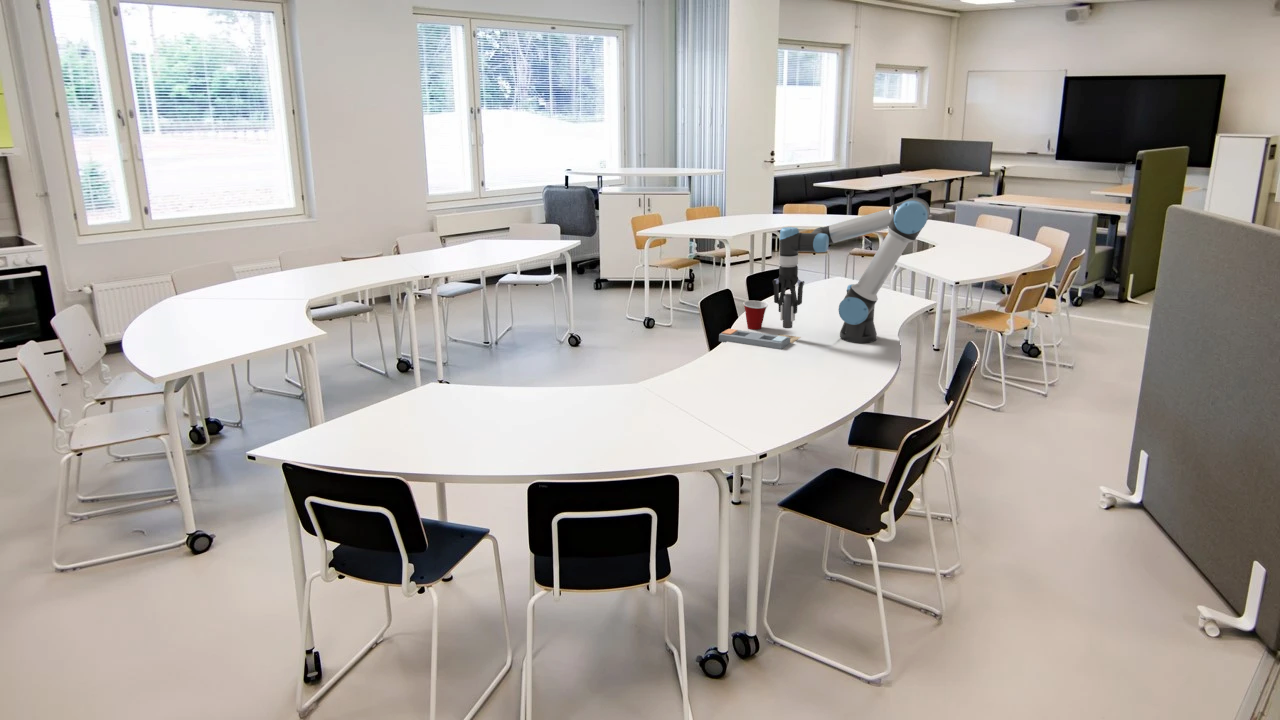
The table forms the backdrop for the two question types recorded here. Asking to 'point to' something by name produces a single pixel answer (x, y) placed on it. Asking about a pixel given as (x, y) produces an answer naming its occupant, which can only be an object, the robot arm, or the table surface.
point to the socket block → (754, 338)
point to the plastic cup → (754, 313)
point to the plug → (787, 311)
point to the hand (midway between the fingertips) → (787, 320)
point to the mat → (792, 338)
